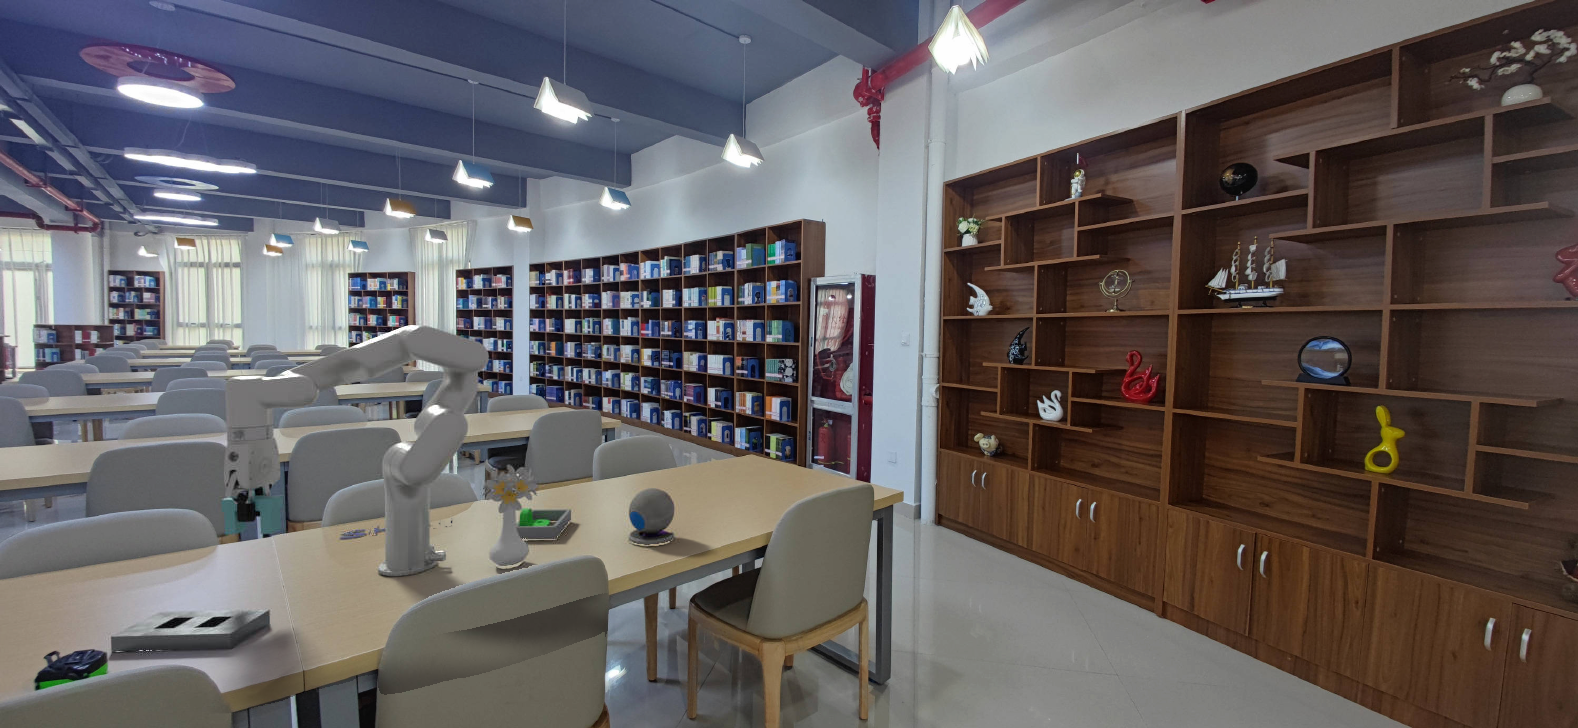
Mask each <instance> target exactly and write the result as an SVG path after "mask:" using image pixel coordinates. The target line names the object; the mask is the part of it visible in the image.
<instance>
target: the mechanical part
mask: <svg viewBox="0 0 1578 728" xmlns="http://www.w3.org/2000/svg"><path fill="white" fill-rule="evenodd" d="M532 510H533V509H532V508H522V509H521V510H520V514H519V519H518V522H519V526H551V523H550V521H549V520H544V519H538V520H532Z"/></svg>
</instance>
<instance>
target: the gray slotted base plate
mask: <svg viewBox="0 0 1578 728" xmlns="http://www.w3.org/2000/svg"><path fill="white" fill-rule="evenodd" d="M270 615H271V613H270V609H239V610H235V609H234V610H193V611H191V610H189V611H188V610H187V611H159V612H158V613H155V614H154V615H152V616H150V617H148V618H145V619H143V620H141V621H139V622H138V623H136V624H134V625H132V626H129V627H127V628H125V629H123V630H121V631H119V632H117V633H115V634H113V635H111V636H110V648H111V649H110V651H111V652H116V651H139V650H143V651H146V650H149V651H150V650H152V651H151V652H157V651H156V650H172V651H171V652H177V651H178V652H182V651H212V650H214V651H216V650H217V651H218V650H220V651H221V650H232V649H233V648H235V647H236V646H238V645H240V644H241V643H243V642H244V641H246V640H247V639H249V638H251V637H253V636H254V635H255V634H257V633H259V632H260V631H262V630H263V629H264V628H266V627H267V626H269V625H271V618H270V617H271V616H270ZM111 652H110V653H111ZM116 653H117V652H116Z"/></svg>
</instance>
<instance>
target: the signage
mask: <svg viewBox="0 0 1578 728" xmlns="http://www.w3.org/2000/svg"><path fill="white" fill-rule="evenodd" d="M364 529H365V528H364ZM364 529H354V530H355V531H354V532H356V533H351V532H353V530H348V531H349V532H347V534H346V533H344V532H343V533H344V534H341V533H340V535H356V536H340V537H339V540H340V539H343V540H351V539H352V538H353V539H359V538H361V537H360V536H363V535H365V534H367V533H366V532H358V531H366V529H365V530H364ZM374 529H375V530H374V532H375V534H376V533H377V534H378V533H379V532H378V531H385V527H383V528H379V527H377V528H374ZM350 531H351V532H350ZM369 531H370V530H369ZM370 533H371V531H370ZM373 534H374V533H373ZM365 536H366V535H365ZM358 537H359V538H358ZM363 537H364V536H363ZM353 539H352V540H353Z"/></svg>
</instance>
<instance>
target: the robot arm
mask: <svg viewBox="0 0 1578 728" xmlns="http://www.w3.org/2000/svg"><path fill="white" fill-rule="evenodd" d="M489 358H490V357H489V352H488V350H487V348H486V346H484V345H483V344H482V343H481V342H480V341H479V342H478V341H477V340H473V339H470V338H467V337H464V336H460V335H457V334H454V333H450V332H447V331H445V330H441V329H439V328H435V327H431V326H428V325H422V324H421V325H420V324H417V325H416V324H414V325H413V324H412V325H410V324H409V325H406V326H402V327H400V328H398V329H395V330H392V331H390V332H386V333H384V334H381V335H380V336H377V337H374V338H371V339H368V340H366V341H364V342H362V343H358V344H356V345H353V346H351V347H348V348H345V349H341V350H339V351H337V352H334V353H331V354H330V355H326V356H323V357H320V358H318V359H315V360H312V361H309V362H307V363H304V364H301V365H299V366H296V367H293V368H291V369H289V370H286V371H283V372H281V373H279V374H277V375H275V376H274V377H268V376H264V375H241V376H239V375H238V376H232V377H230V378H228V379H227V380H226V381H225V386H224V387H225V411H226V412H225V417H226V419H225V420H226V448H225V452H224V462H223V463H224V465H223V481H224V486H225V489H226V490H225V492H224V496H225V498H228V497H230V498H232V499H233V500H234V503H235V504H237V521H238V522H246V523H253V522H255V521H256V517H257V518H258V517H260V511H255V503H252V501H253V496H271V489H272V488H273V486H274V484H275V483H276V482H277V481H279V480H280V478H281V460H280V454H279V447H278V444H277V440H276V437H274V409H290V410H291V409H293V410H297V409H302V408H304V409H305V408H307V407H309V406H311V405H313V404H314V403H315V402H317V401H316V400H317V399H318V398H319V396H320V394H321V393H323V392H325V391H327V390H328V391H329V390H330V389H333V388H335V387H339V386H342V385H347V384H351V383H352V384H353V383H358V382H364V381H368V380H371V379H372V380H373V379H374V378H377V377H380V376H381V375H384V374H387V373H389V372H391V371H394V370H395V369H398V368H400V367H402V366H405V365H408V364H410V363H412V362H414V361H418V360H419V361H423V362H425V363H429V364H432V365H435V366H439V367H442V370H443V379H442V382H441V384H440V386H439V388H437V390H436V391H435V393H434V395H433V396H432V397H431V398H430V400H429V401H428V402H427V404H426V405H425V406H424V407H423V408H422V411H420V413H419V414H418V415H417V417H416V418H415V420H414V422H413V423H414V424H413V430H414V432H415V435H416V436H417V438H416V440H414V441H413V442H412V441H403V442H402V441H401V442H398V443H395V444H393V445H392V446H391V447H389V449H388V450H386V452H385V454H384V455H383V459H382V464H381V467H382V469H381V472H382V478H383V484H384V485H383V486H384V503H385V504H384V506H385V507H384V528H385V532H384V536H385V539H384V543H385V548H384V549H385V561H383V562H381V563H380V564H379V565H378V566H377V571H378V574H380V575H382V576H385V575H386V576H388V577H401V576H402V577H404V576H410V575H409V574H411V575H415V574H414V573H416V574H419V573H418V572H420V573H423V572H425V570H426V571H427V570H430V569H432V568H433V566H434V565H435V564H436V565H437V563H438V562H445V561H446V560H447V554H446V551H445V550H439V551H436V550H435V545H432V544H431V543H430V542H431V535H430V533H431V531H430V530H431V528H430V527H431V524H430V523H431V521H430V519H431V517H430V514H431V513H430V512H431V511H430V509H431V508H430V503H431V502H430V500H431V495H430V493H431V492H430V486H429V485H430V484H431V483H434V481H436V480H437V479H438V477H439V476H440V475H441V474H442V473H443V471H444V470H445V469H446V468H447V466H448V464H449V463H450V462H451V460H452V459H453V457H454V456H455V455H456V453H457V452H458V450H459V449H460V448H461V446H462V445H463V443H464V441H465V439H466V438H467V434H468V431H469V422H468V420H467V417H466V416H465V413H466V411H467V409H469V407H470V405H471V404H472V402H473V401H474V399H475V397H476V395H477V392H478V388H479V375H478V373H479V372H481V371H483V370H484V369H485V368H486V367H487V365H488V363H489V360H490V359H489ZM436 565H435V566H436ZM435 566H434V567H435ZM422 571H423V572H422ZM403 575H404V576H403Z"/></svg>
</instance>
